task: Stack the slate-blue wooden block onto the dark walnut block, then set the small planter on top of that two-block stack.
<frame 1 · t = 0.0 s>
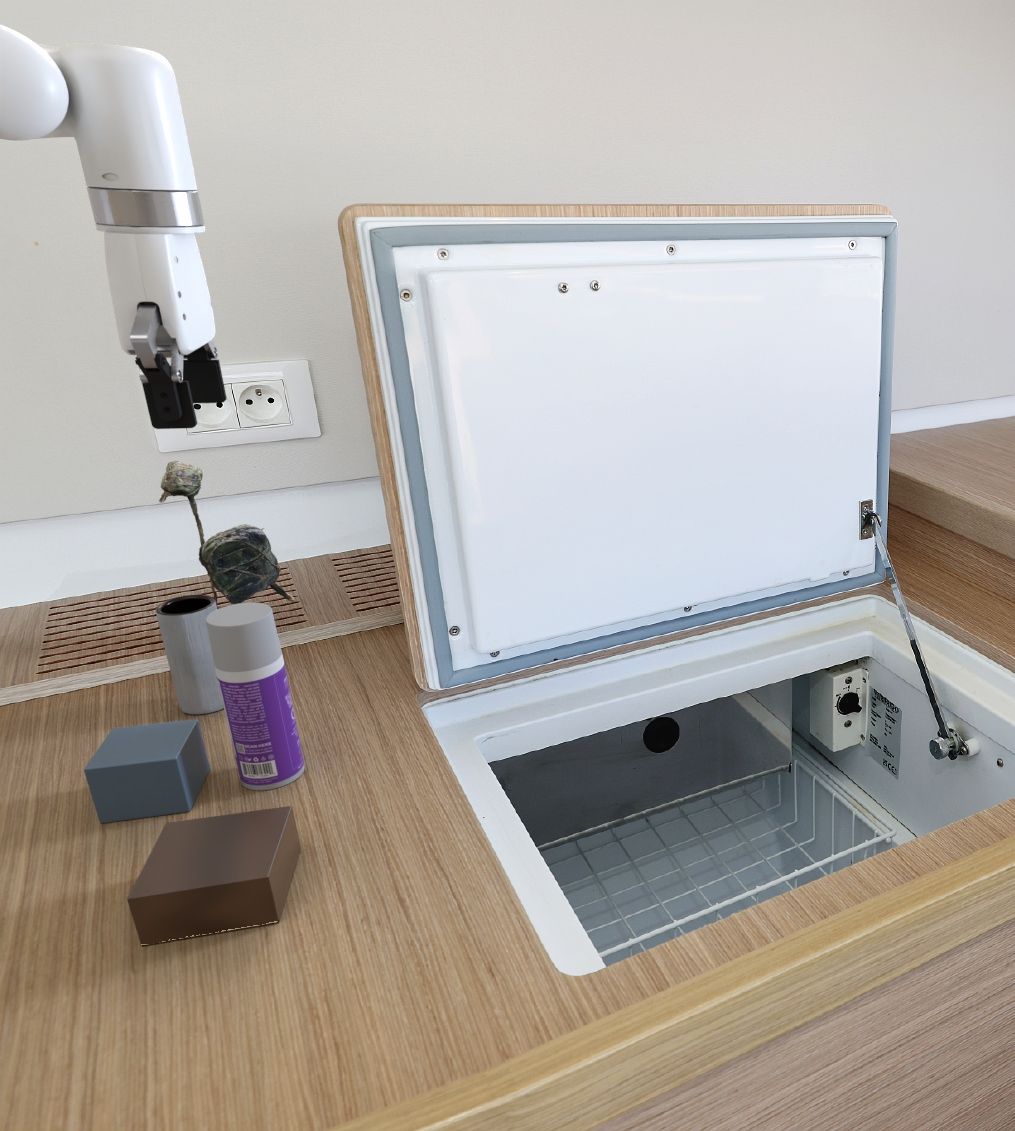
hand: (192, 414, 85), 26 cm above the worktop, tool pointing down, fingers open, 9 cm apart
planter: (209, 704, 89), on the worktop
base block: (226, 894, 66), on the worktop
container: (273, 776, 80), on the worktop
top block: (157, 795, 76), on the worktop
plant with pod: (238, 632, 103), on the worktop
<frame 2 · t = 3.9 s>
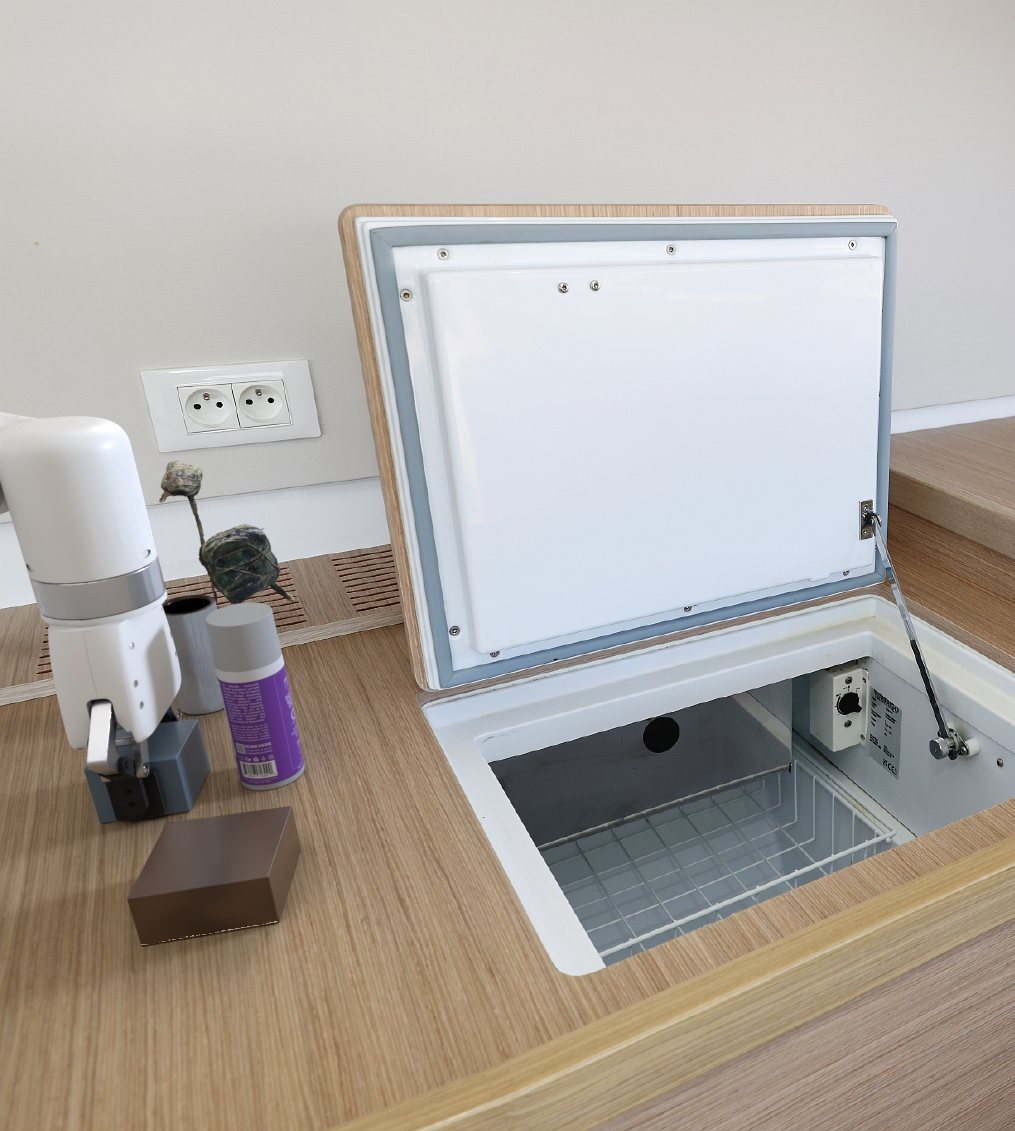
hand: (156, 789, 76), 1 cm above the worktop, tool pointing down, fingers closed on top block, 6 cm apart
top block: (157, 795, 76), on the worktop, touching gripper
everything else where it was.
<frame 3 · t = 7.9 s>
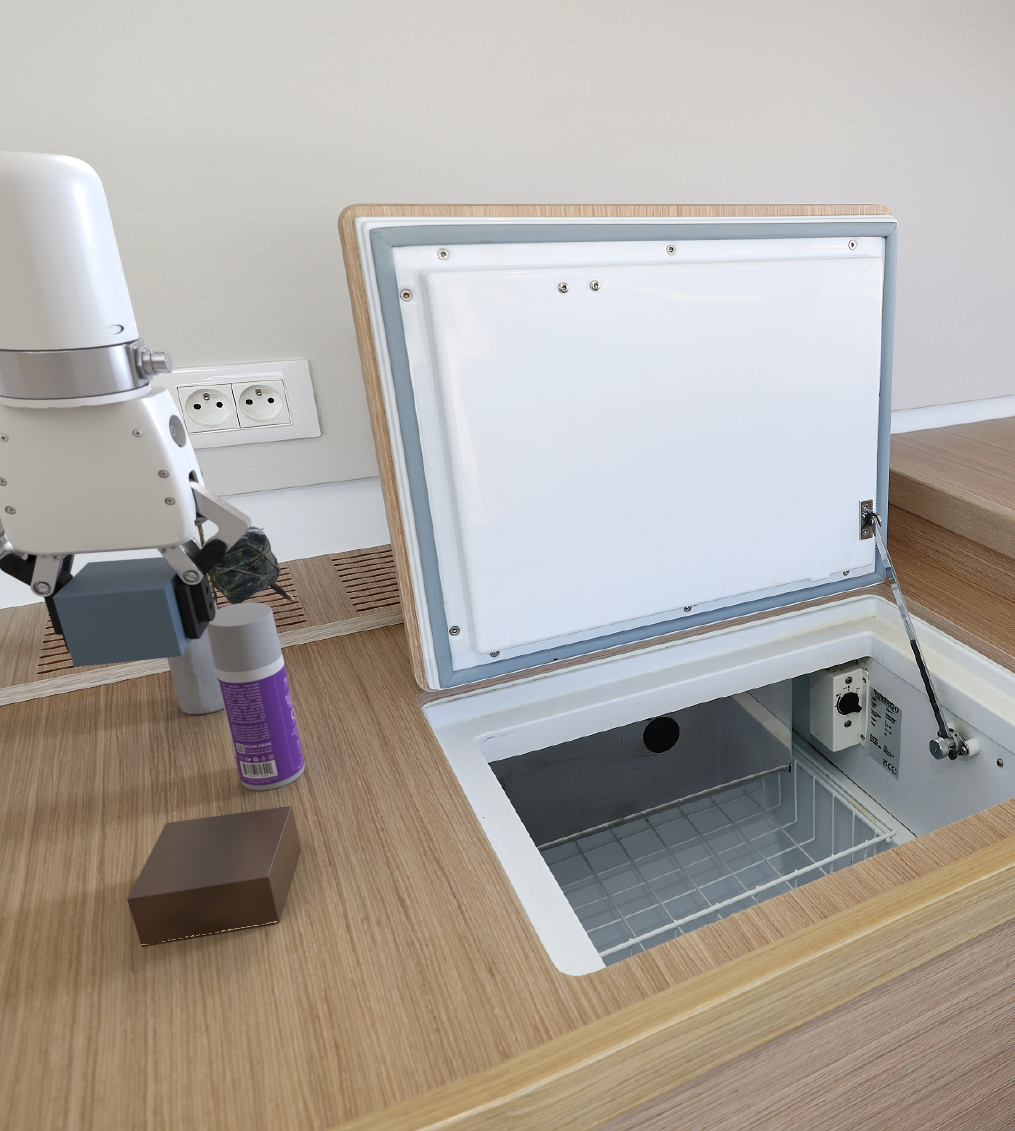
hand: (141, 634, 64), 18 cm above the worktop, tool pointing down, fingers closed on top block, 6 cm apart
top block: (143, 641, 64), point 17 cm above the worktop, touching gripper
everything else where it was.
when the fingers open (5 cm above the worktop, at t = 11.9 s): top block stays where it is, resting on base block.
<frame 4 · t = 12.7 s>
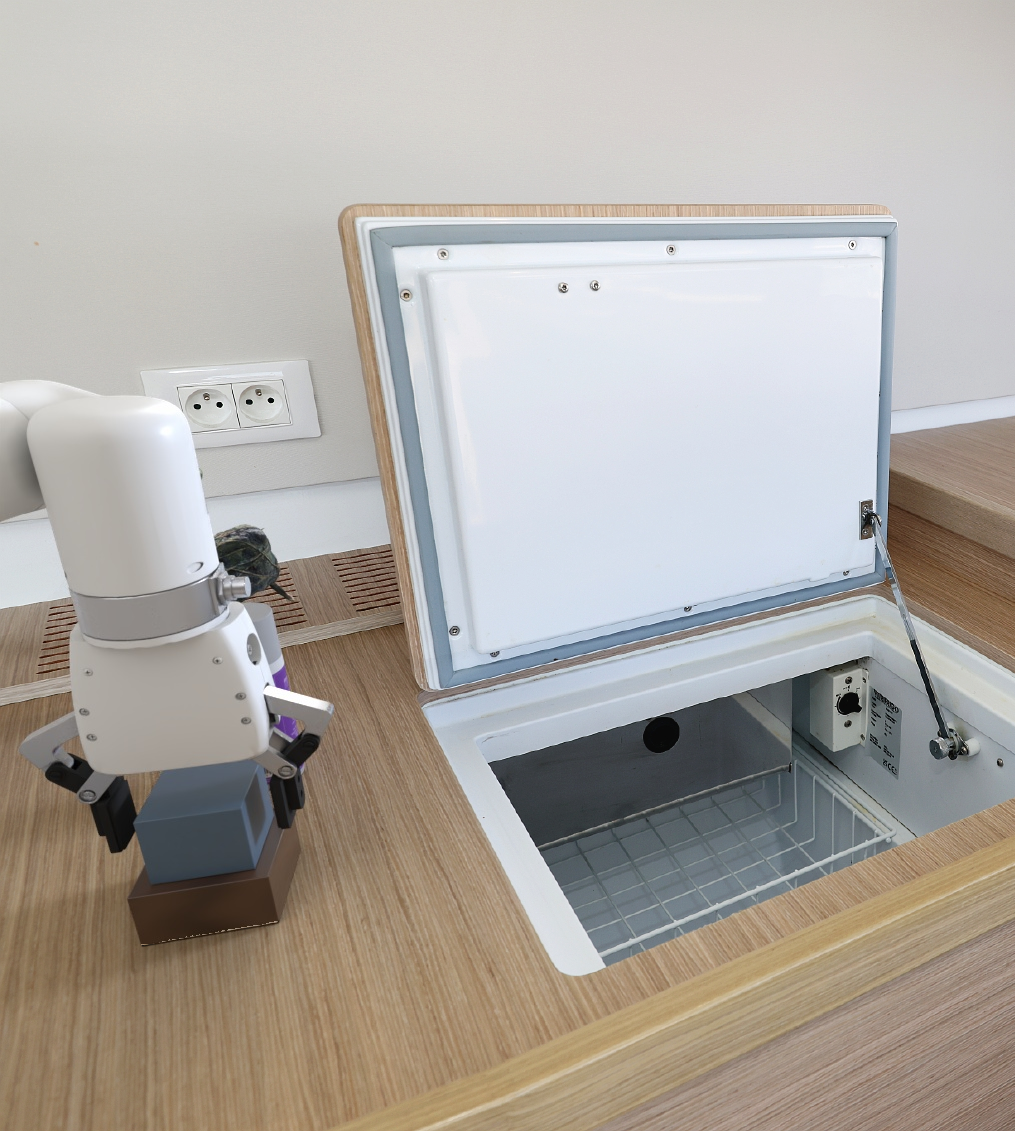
hand: (209, 828, 64), 6 cm above the worktop, tool pointing down, fingers open, 9 cm apart
base block: (226, 894, 66), on the worktop, touching top block
top block: (215, 848, 65), point 4 cm above the worktop, touching base block
everything else where it was.
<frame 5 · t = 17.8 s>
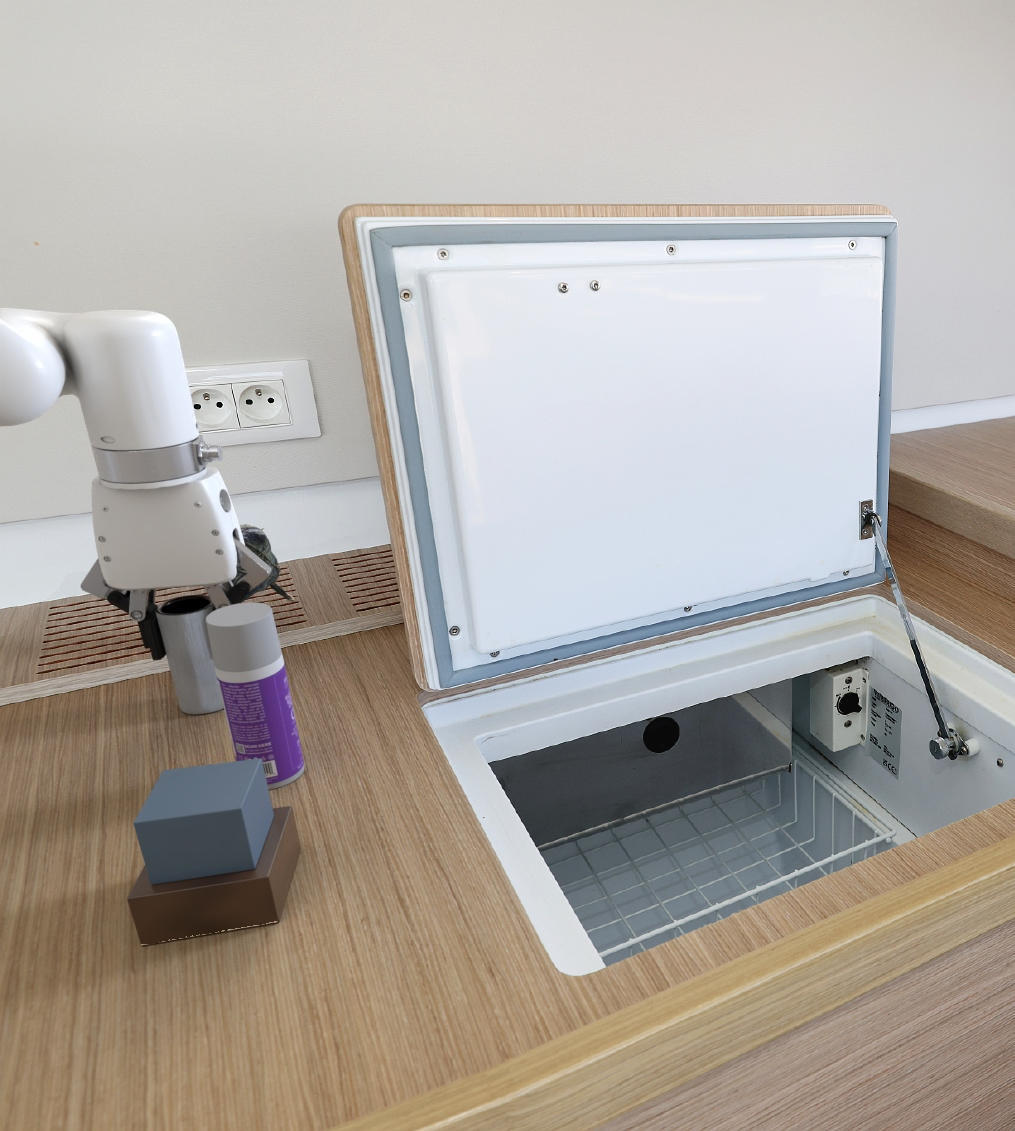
hand: (195, 648, 87), 6 cm above the worktop, tool pointing down, fingers closed on planter, 4 cm apart
planter: (209, 704, 89), on the worktop, touching gripper
everything else where it was.
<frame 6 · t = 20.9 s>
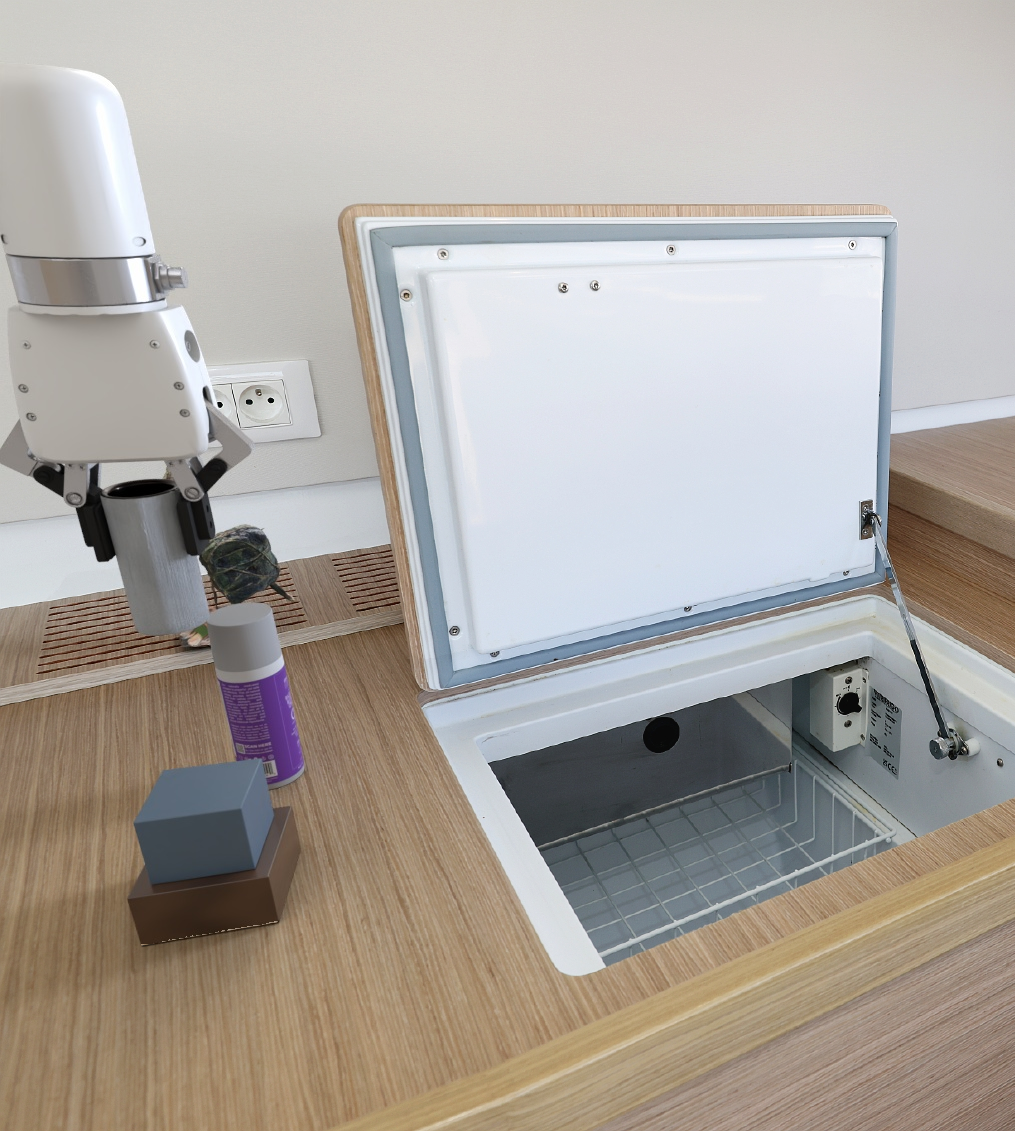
hand: (155, 549, 66), 22 cm above the worktop, tool pointing down, fingers closed on planter, 4 cm apart
planter: (174, 625, 69), point 16 cm above the worktop, touching gripper
everything else where it was.
when the fingers open (15 cm above the worktop, at t = 23.9 s): planter stays where it is, resting on top block.
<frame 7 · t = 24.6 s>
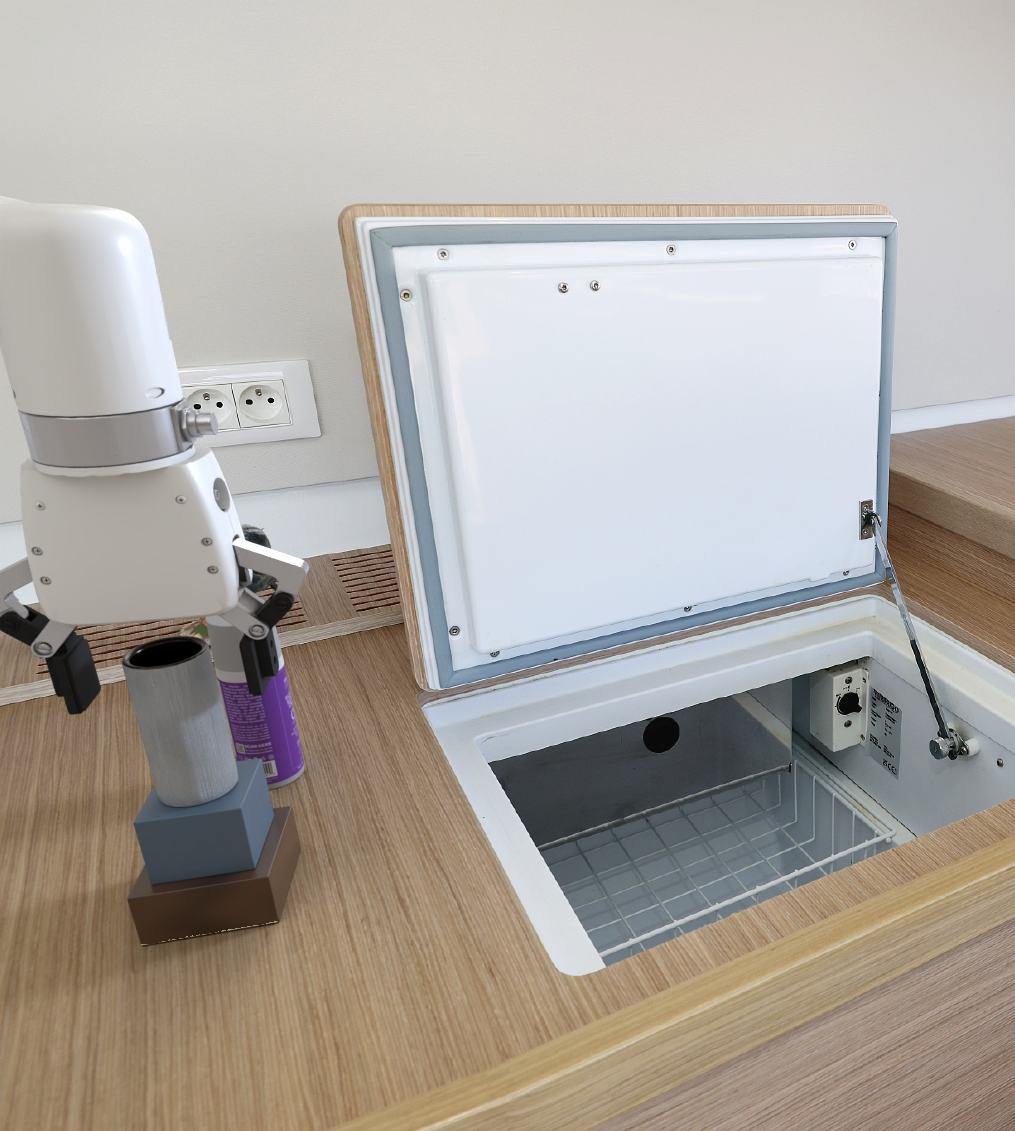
hand: (176, 694, 60), 16 cm above the worktop, tool pointing down, fingers open, 9 cm apart
planter: (200, 790, 63), point 9 cm above the worktop, touching top block
top block: (215, 848, 65), point 4 cm above the worktop, touching base block, planter
everything else where it was.
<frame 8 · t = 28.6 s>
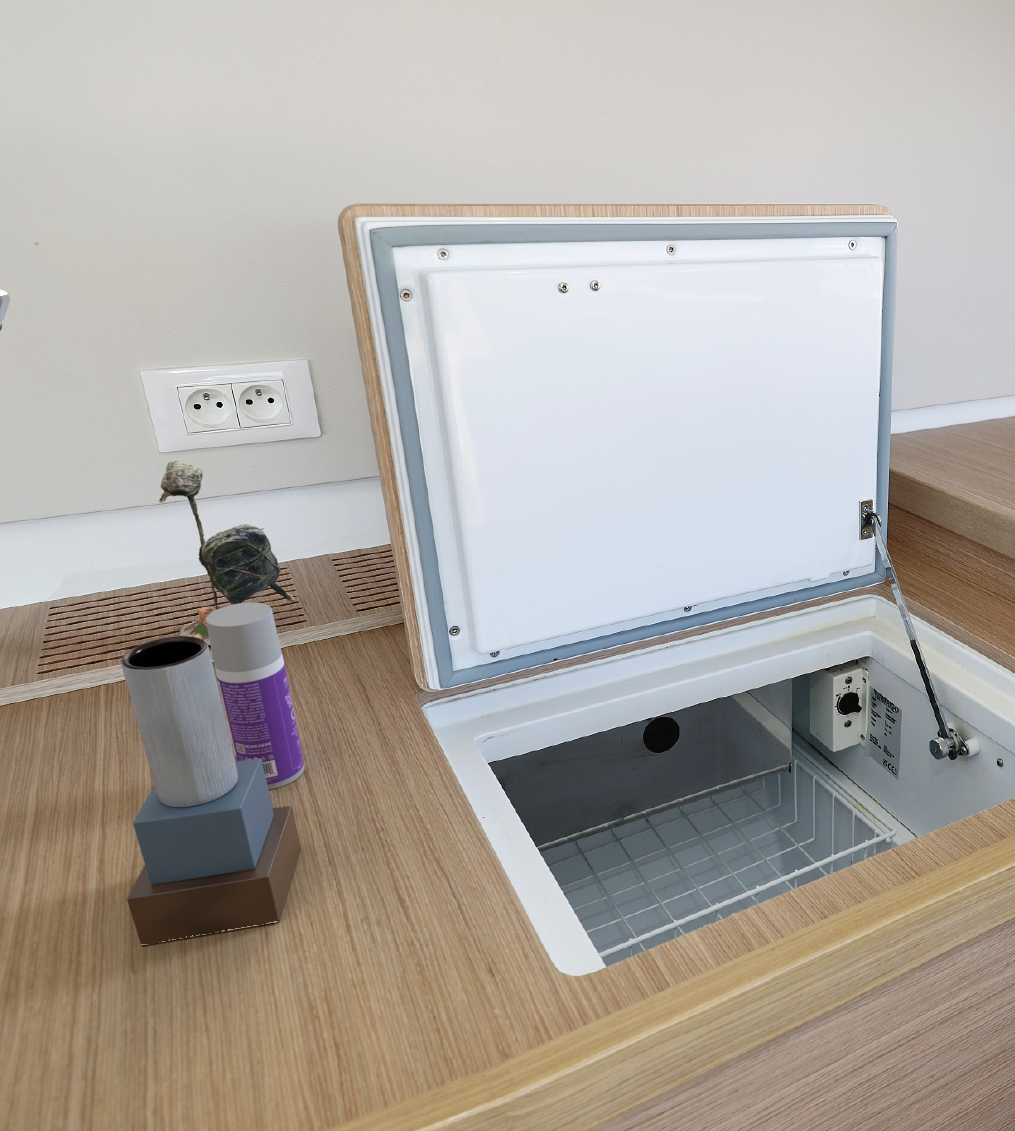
nothing on the worktop moved.
at the end: top block 0.0 cm off-centre on the base block, point 4.0 cm above the base block's base; planter 0.1 cm off-centre on the base block, point 8.8 cm above the base block's base; planter tilted 0° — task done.
